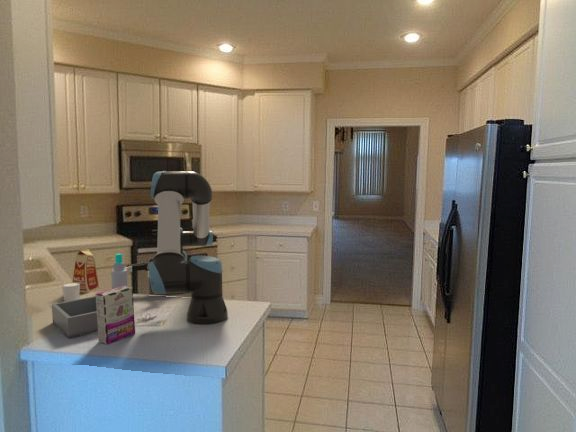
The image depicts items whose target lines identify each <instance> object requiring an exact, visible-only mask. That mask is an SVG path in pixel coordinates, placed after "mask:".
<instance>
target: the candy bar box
mask: <svg viewBox="0 0 576 432" xmlns="http://www.w3.org/2000/svg"><path fill="white" fill-rule="evenodd" d="M95 296H96V310H97V324H98V332H97V335H98V336H97V337H98V342H99V343H101V344H104V345H110V344H113V343H115V342H118V341H120V340H122V339H125V338H128V337H130V336H132V335H135V334H136V325H135V324H136V323H135V309H134V308H135V305H134V288H133V287H132V286H129V285H128V286H121V287H118V288H114V289H112V288H110V289H107V290H104V291H101V292H98V293H95Z"/></svg>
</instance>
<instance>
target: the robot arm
mask: <svg viewBox="0 0 576 432" xmlns="http://www.w3.org/2000/svg"><path fill="white" fill-rule="evenodd" d="M212 189H213V188H212V187H211V184H210V183H209V181H208V180H207V179H206V178H205V177H204V176H203V175H201V173H198V172H196V171H191V170H190V171H189V170H188V171H182V170H181V171H179V170H177V171H173V170H172V171H170V170H168V171H167V170H163V171H156V172H154V174H153V175H152V179H151V187H150V196H151V197H150V198H151V199H152V200H154V202H155V203H156V205H158V207H157V212H158V213H157V242H156V243H157V244H156V245H157V246H156V247H157V248H156V250H157V251H156V254H155V255H153V257H152V261H150V262H148V261H144V262H139V263H132V264H127V265H126V267H124V268H125V269H127V275H128V274H131V273H133V272H138V271H147V279H148V278H149V282H150V288H151V292H153V294H156V295H157V294H162V295H163V294H164V295H166V294H178V293H180V294H181V293H191V294H190V297H191V298H190V302H189V306H188V309H187V312H186V320H187V321H188V322H189V323H192V324H197V325H210V324H211V325H212V324H216V323H220V322H223V321H225V320H226V319H227V318H228V316H229V315H228V308H227V306H226V302H225V300H224V297H223V294H224V292H223V272H224V271H223V264H222V261H221V260H220V259H219V258H218V257H215V256H210V255H209V256H208V255H192V256H191V257H190V259H189V260H188V254H187V253H186V251H184V247H207V246H212V245H213V243H214V241H213V240H214V236H213V235H214V234H213V231H212V230H210V213H211V212H210V210H211V209H210V207H211V206H210V205H211V202H212V200H213V190H212ZM185 199H189V200H190V201H191V203H192V229H193V230H187V231H186V230H184V229H183V228H182V227H181V205H182V204H184V201H185Z"/></svg>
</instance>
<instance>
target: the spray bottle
mask: <svg viewBox="0 0 576 432" xmlns="http://www.w3.org/2000/svg"><path fill="white" fill-rule="evenodd" d="M114 257H115V260H114V261H115V262H114V263H113V269H112V270H111V271H110V273H111V276H110V277H111V289H114V288H118V287H121V286H128V287H129V284H128V283H129V281H128V279H129V277H128V274H127V269H125V268H126V267H125V262H123V254H122V253H116V254H115V255H114Z"/></svg>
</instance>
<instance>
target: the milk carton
mask: <svg viewBox="0 0 576 432" xmlns="http://www.w3.org/2000/svg"><path fill="white" fill-rule="evenodd" d="M90 250H91V249H89V248H88V249H84V248H79V252H78V253H76V256H75V262H74V269H73V274H72V275H73V276H72V281H71V283H79V284H80V290H79V293H88V294H89V293H91V292H93V291H96V290H98V289H99V288H100V282H99V281H100V279H99V276H98V269H97V265H96V261H95V256H94V254H93V253H92V252H91V251H90Z"/></svg>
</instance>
